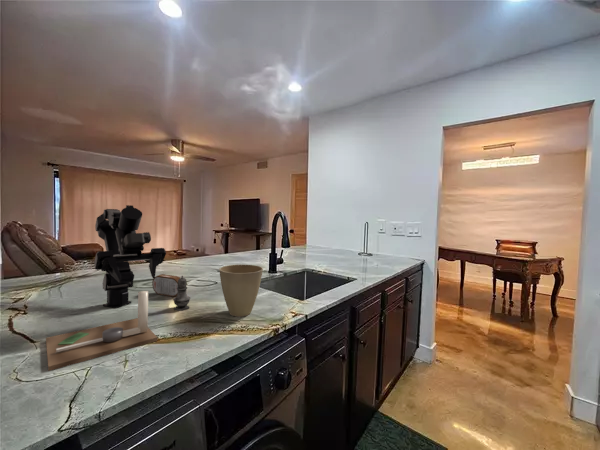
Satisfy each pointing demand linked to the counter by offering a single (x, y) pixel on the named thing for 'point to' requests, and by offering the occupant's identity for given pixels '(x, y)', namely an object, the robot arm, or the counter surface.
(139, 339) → the dial plate
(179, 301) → the salt shaker
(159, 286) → the tin
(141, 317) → the crank handle
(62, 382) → the counter surface
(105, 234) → the robot arm
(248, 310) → the plant pot
